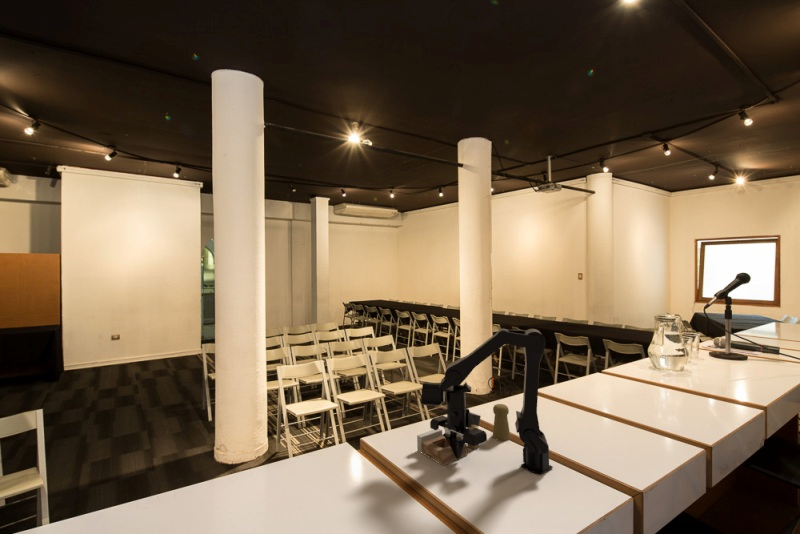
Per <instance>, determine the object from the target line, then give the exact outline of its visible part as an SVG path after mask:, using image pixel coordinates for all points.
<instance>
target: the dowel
mask: <svg viewBox="0 0 800 534" xmlns="http://www.w3.org/2000/svg"><path fill="white" fill-rule="evenodd" d="M466 428H467V429H470V430H471V429H474V428H477V429H479V426H476V425H472V424H471V427H466ZM479 446H480V444H478V445H476V446H471V445H469V444H467V448H468V449H469V450H478V449H479V448H480V447H479Z"/></svg>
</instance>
